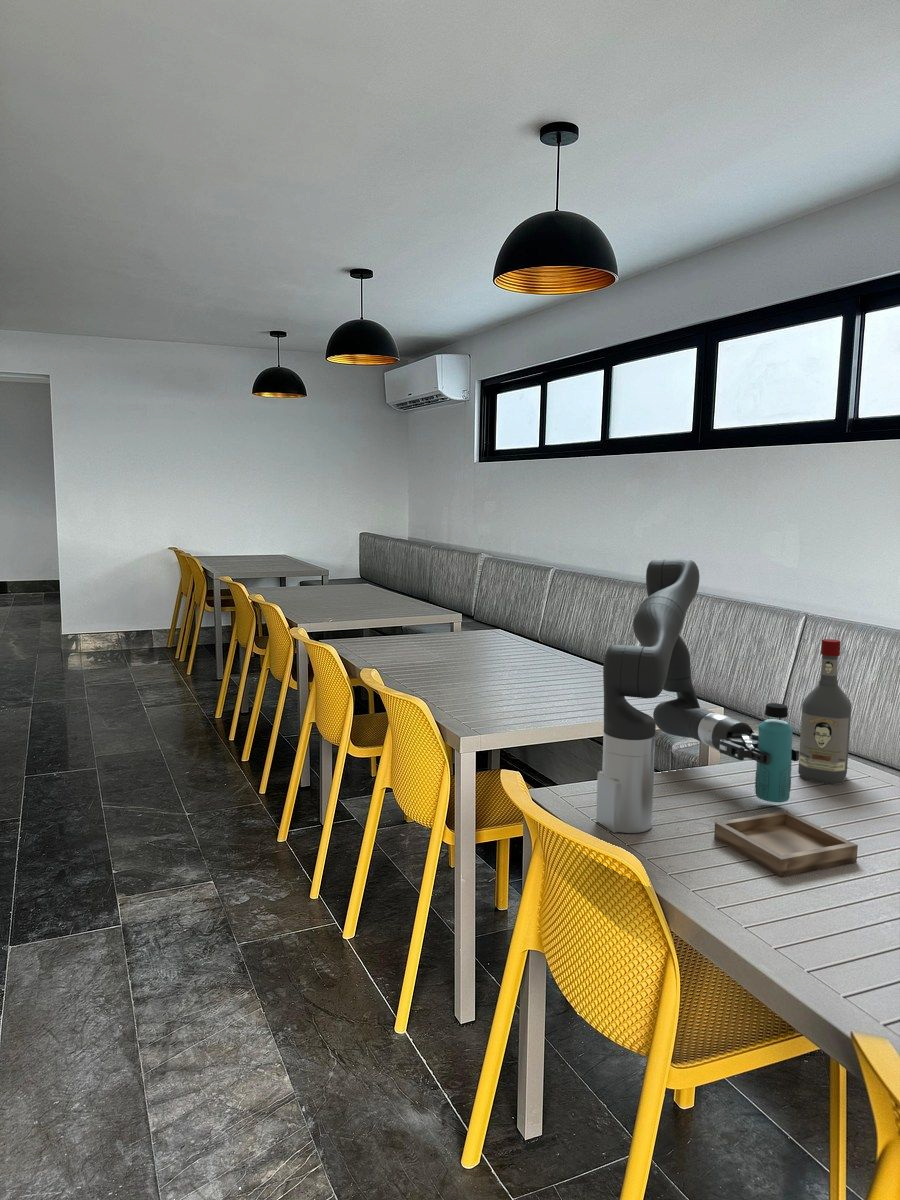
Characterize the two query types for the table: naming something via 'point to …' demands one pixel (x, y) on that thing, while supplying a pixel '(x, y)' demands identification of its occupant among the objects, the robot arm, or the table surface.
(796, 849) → the tray
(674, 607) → the robot arm
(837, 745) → the liquor
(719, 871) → the table surface
